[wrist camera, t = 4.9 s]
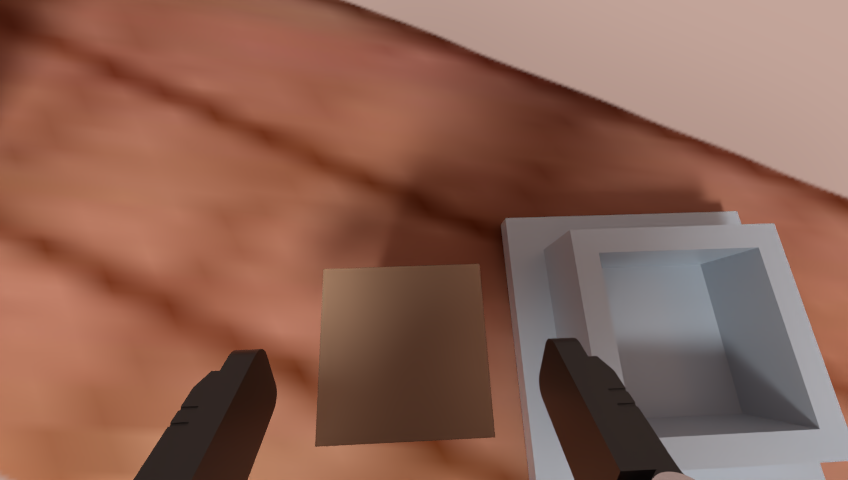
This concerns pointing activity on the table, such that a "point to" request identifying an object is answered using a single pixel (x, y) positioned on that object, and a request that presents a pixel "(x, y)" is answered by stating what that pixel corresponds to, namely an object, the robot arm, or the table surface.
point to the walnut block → (403, 356)
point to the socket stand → (677, 338)
